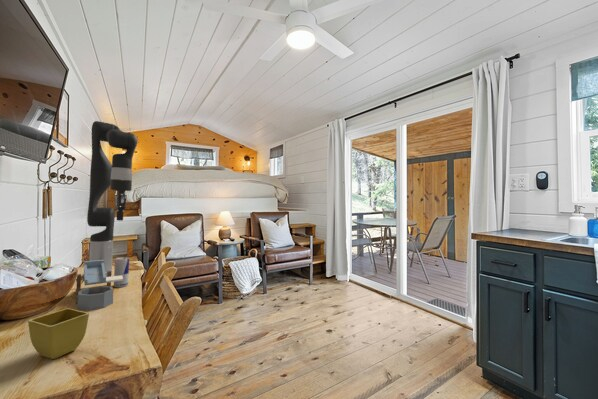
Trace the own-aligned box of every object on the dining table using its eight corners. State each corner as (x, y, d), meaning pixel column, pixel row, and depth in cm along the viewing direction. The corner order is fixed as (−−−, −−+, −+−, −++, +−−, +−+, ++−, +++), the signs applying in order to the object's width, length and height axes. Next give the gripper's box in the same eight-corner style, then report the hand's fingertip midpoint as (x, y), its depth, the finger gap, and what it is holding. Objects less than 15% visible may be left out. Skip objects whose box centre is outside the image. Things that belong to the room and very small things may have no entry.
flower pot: (25, 357, 66) (26, 319, 66) (66, 341, 74) (68, 307, 74) (48, 366, 63) (50, 326, 63) (88, 348, 71) (90, 312, 71)
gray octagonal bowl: (77, 303, 101) (78, 289, 101) (110, 297, 107) (111, 284, 107) (77, 312, 93) (78, 297, 93) (113, 305, 99) (114, 291, 99)
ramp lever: (81, 271, 113) (82, 261, 112) (118, 268, 121) (119, 258, 120) (82, 289, 102) (82, 277, 101) (122, 283, 110) (123, 273, 109)
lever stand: (75, 291, 113) (76, 270, 113) (108, 287, 119) (109, 267, 120) (75, 304, 99) (76, 280, 99) (112, 298, 106) (113, 275, 106)
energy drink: (131, 284, 124) (132, 257, 124) (122, 287, 119) (123, 259, 119) (119, 283, 125) (120, 256, 125) (110, 287, 120) (111, 259, 120)
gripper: (109, 179, 120) (107, 219, 120) (112, 177, 110) (110, 221, 110) (129, 180, 125) (127, 219, 125) (134, 179, 114) (132, 221, 114)
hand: (119, 220), depth 117 cm, fingers closed
